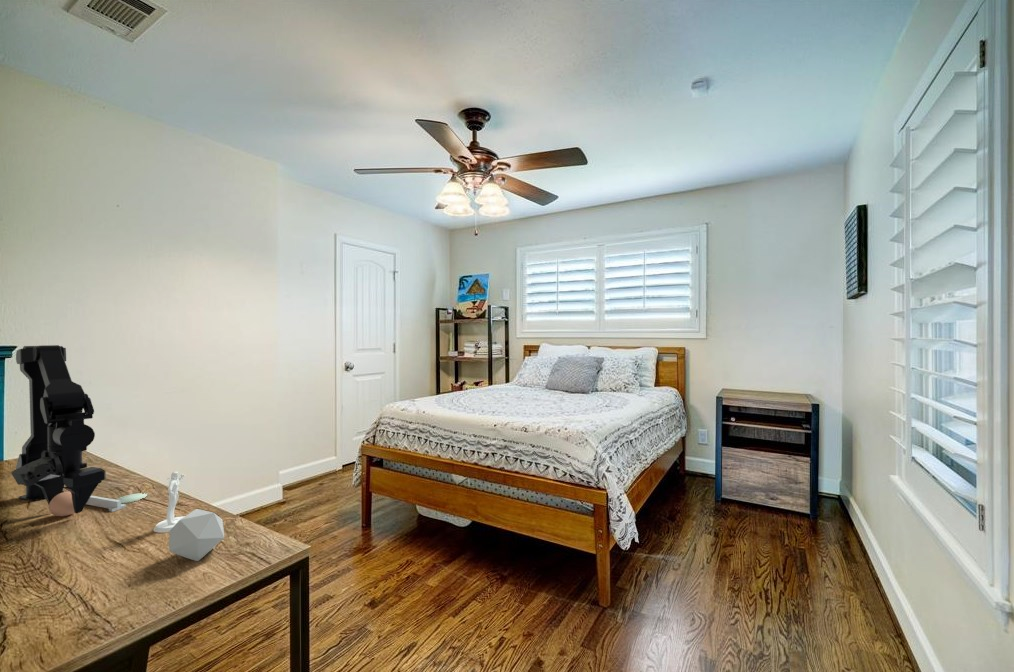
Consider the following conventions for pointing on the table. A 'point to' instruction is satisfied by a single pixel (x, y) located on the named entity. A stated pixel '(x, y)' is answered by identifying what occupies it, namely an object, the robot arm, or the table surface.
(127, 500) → the felt coaster
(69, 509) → the ball
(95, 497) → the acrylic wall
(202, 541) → the die
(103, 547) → the table surface
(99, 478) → the robot arm
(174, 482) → the figurine
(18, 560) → the table surface
